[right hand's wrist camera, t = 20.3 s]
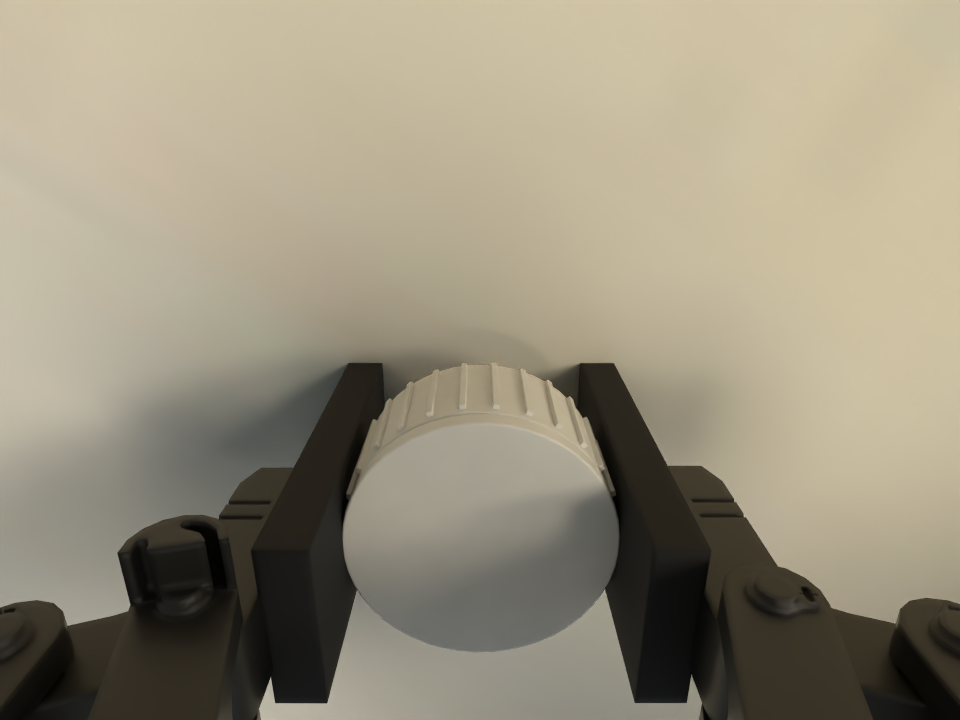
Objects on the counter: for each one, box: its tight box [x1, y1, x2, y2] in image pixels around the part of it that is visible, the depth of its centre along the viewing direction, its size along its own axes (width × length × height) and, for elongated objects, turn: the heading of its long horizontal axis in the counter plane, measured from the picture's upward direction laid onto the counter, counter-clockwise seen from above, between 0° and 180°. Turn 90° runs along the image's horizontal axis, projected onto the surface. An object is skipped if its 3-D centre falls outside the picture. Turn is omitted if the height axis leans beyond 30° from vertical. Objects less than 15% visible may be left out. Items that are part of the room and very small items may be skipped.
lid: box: [342, 363, 620, 652], centre depth 11 cm, size 5×5×2 cm
